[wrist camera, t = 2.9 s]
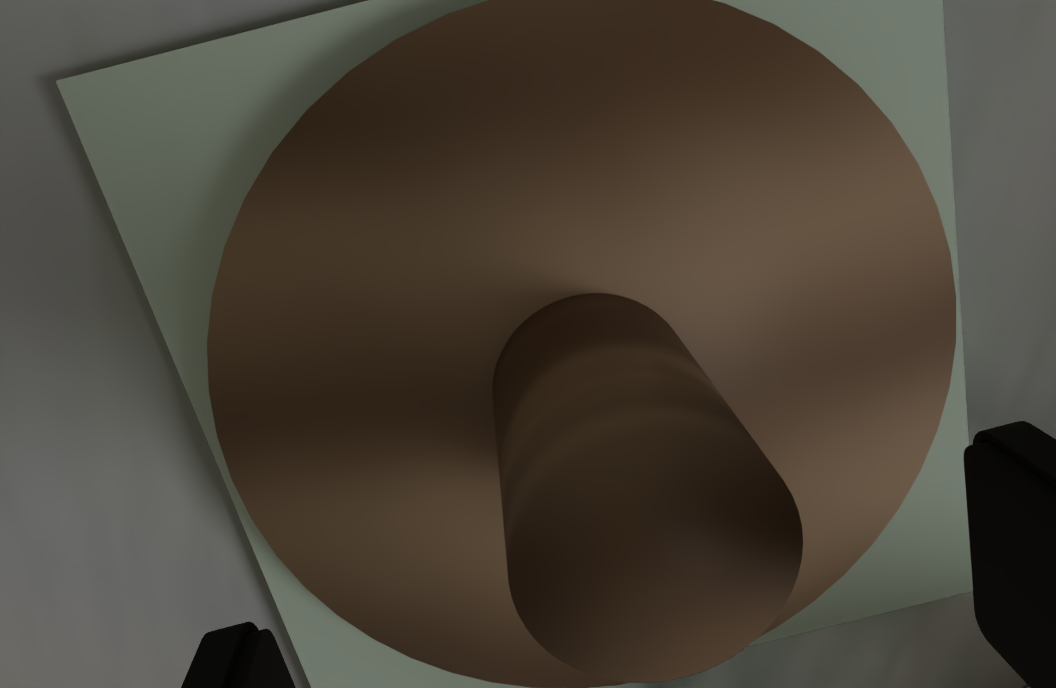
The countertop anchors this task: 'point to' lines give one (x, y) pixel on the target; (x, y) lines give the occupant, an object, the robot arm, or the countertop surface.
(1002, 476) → the robot arm
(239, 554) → the countertop surface
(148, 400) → the countertop surface
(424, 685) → the mat
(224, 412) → the lid
